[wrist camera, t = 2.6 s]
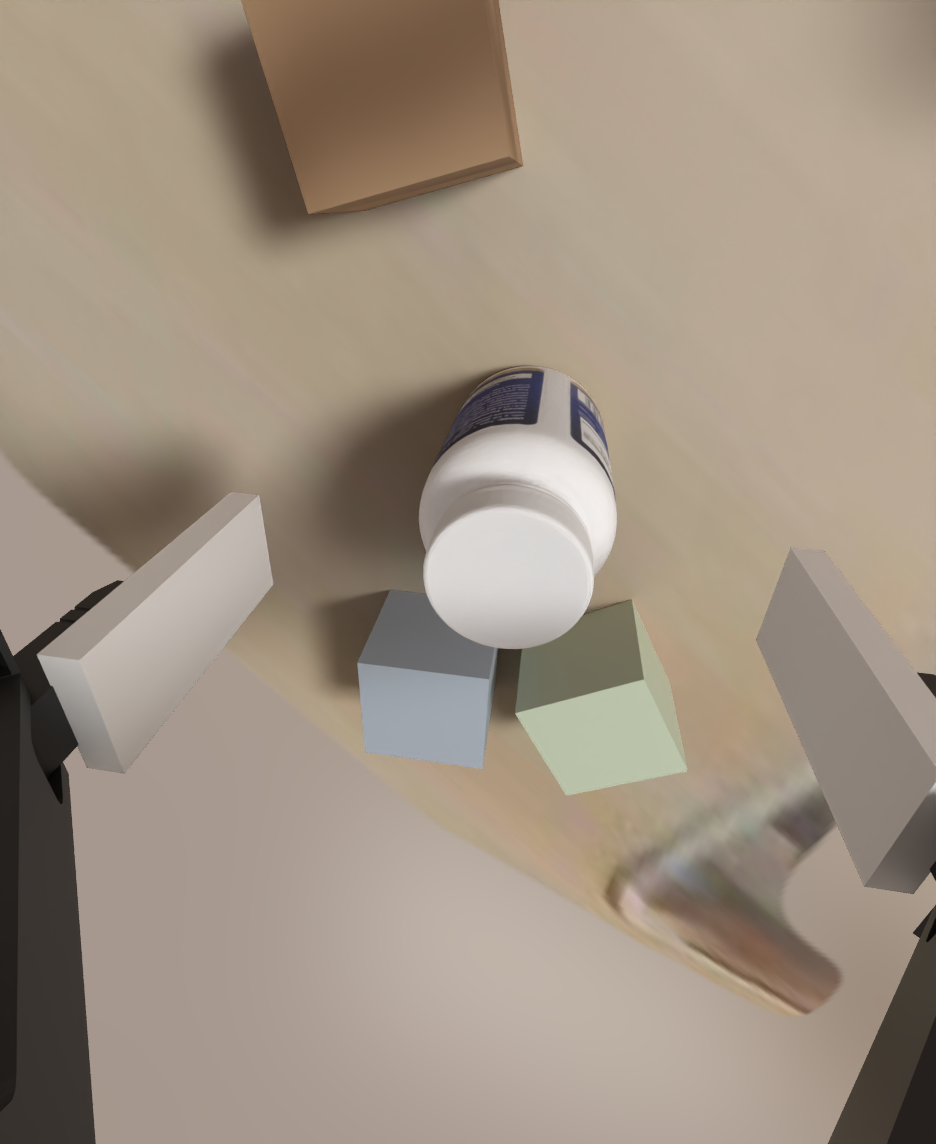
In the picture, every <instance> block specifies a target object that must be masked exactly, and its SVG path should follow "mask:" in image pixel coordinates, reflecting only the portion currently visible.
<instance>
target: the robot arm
mask: <svg viewBox="0 0 936 1144" xmlns="http://www.w3.org/2000/svg"><path fill="white" fill-rule="evenodd" d="M272 586H273V579H272V573H271V566H270V560H269V554H268V548H267V542H266V535H265V529H264V523H263V517H262V510H261V504H260V498H259V495H256V494H246V493H236V492H230V493H229V494H228V495H227V496H225V497H224V498H223V499H222V500H221V501H220V502H218V503H217V504H216V505H215V506H214V507H212V508H211V509H210V510H209V511H208V512H206V513H205V514H204V515H203V516H202V517H200V518H199V519H198V520H197V521H196V522H194V523H193V524H192V525H191V526H190V527H188V528H187V529H186V530H185V531H184V532H182V533H181V534H180V535H179V536H178V537H176V538H175V539H174V540H173V541H172V542H171V543H169V544H168V545H167V546H166V547H165V548H163V549H162V550H161V551H160V552H159V553H157V554H156V555H155V556H154V557H153V558H151V559H150V560H149V561H148V562H147V563H145V564H144V565H143V566H142V567H141V568H139V569H138V570H137V571H136V572H135V573H133V574H132V575H131V576H130V577H129V578H128V579H127V580H125V581H116V582H113V583H111V584H109V585H107V586H105V587H103V588H101V589H99V590H97V591H95V592H93V593H91V594H90V595H89V596H88V597H86V598H85V599H84V600H83V601H81V602H80V603H79V604H78V605H76V606H75V609H74V610H70V611H69V612H68V613H67V614H65V615H64V616H63V617H62V618H60V622H55V623H54V624H53V625H52V626H50V627H49V628H48V629H47V630H45V631H44V632H43V633H42V634H40V635H39V636H38V637H37V638H36V639H34V640H33V641H32V642H30V643H29V644H28V645H27V646H25V647H24V648H23V649H22V650H21V651H19V652H18V653H17V654H16V655H14V656H13V655H12V653H11V651H10V649H9V647H8V645H7V643H6V641H5V638H4V636H3V634H2V632H1V630H0V1144H96V1143H95V1130H94V1116H93V1103H92V1089H91V1075H90V1062H89V1048H88V1035H87V1020H86V1008H85V1007H86V1006H85V993H84V979H83V967H82V966H83V965H82V952H81V938H80V924H79V911H78V897H77V884H76V870H75V856H74V844H73V843H74V842H73V829H72V816H71V801H70V787H69V774H68V772H67V770H66V768H65V765H64V763H63V761H64V760H65V759H66V758H67V757H68V755H69V754H70V753H71V752H72V751H73V750H74V749H75V748H76V747H77V746H78V749H79V751H80V753H81V755H82V758H83V760H84V762H85V764H86V767H87V768H92V769H98V770H105V771H111V772H118V773H126V771H127V770H128V769H129V767H130V766H131V765H132V764H133V762H134V761H135V760H136V759H137V757H138V756H139V755H140V753H141V752H142V751H143V750H144V748H145V747H146V746H147V745H148V743H149V742H150V741H151V740H152V738H153V737H154V736H155V734H156V733H157V732H158V731H159V729H160V728H161V727H162V726H163V724H164V723H165V722H166V720H167V719H168V718H169V716H170V715H171V714H172V712H174V710H175V709H176V708H177V706H178V705H179V704H180V703H181V701H182V700H183V699H184V698H185V696H186V695H187V694H188V692H189V691H190V690H191V689H192V687H193V686H194V685H195V684H196V682H197V681H198V680H199V678H200V677H201V676H202V675H203V673H204V672H205V671H206V670H207V668H208V667H209V666H210V664H211V663H212V662H213V661H214V659H215V658H216V657H217V656H218V654H219V653H220V652H221V650H222V649H223V648H224V647H225V645H226V644H227V643H228V642H229V640H230V639H231V638H232V636H233V635H234V634H235V633H236V631H237V630H238V629H239V628H240V626H241V625H242V624H243V622H244V621H245V620H246V619H247V617H248V616H249V615H250V614H251V612H252V611H253V610H254V609H255V607H256V606H257V605H258V603H259V602H260V601H261V600H262V598H263V597H264V596H265V595H266V593H267V592H268V591H269V589H270V588H271V587H272ZM756 641H757V643H758V645H759V648H760V650H761V652H762V655H763V657H764V659H765V661H766V664H767V666H768V668H769V671H770V673H771V675H772V677H773V680H774V682H775V684H776V686H777V689H778V691H779V693H780V696H781V698H782V700H783V702H784V705H785V707H786V709H787V712H788V714H789V716H790V718H791V721H792V723H793V725H794V728H795V730H796V732H797V734H798V737H799V739H800V741H801V744H802V746H803V748H804V750H805V753H806V755H807V757H808V760H809V762H810V764H811V766H812V769H813V771H814V773H815V776H816V778H817V780H818V782H819V785H820V787H821V789H822V792H823V794H824V796H825V798H826V801H827V803H828V805H829V808H830V810H831V812H832V814H833V817H834V819H835V821H836V824H837V826H838V828H839V830H840V833H841V835H842V837H843V840H844V842H845V844H846V846H847V849H848V851H849V853H850V856H851V858H852V860H853V862H854V865H855V867H856V869H857V872H858V874H859V876H860V878H861V881H862V883H863V885H864V887H871V888H877V889H885V890H891V891H897V892H903V893H910V894H914V893H915V891H916V890H917V889H918V887H919V886H920V885H921V884H922V882H923V881H924V880H925V878H926V877H927V876H928V875H929V873H930V872H931V873H932V875H933V877H934V879H935V880H936V676H935V675H933V674H925V673H916V671H915V670H914V669H913V667H912V666H911V665H910V663H909V662H908V661H907V659H906V658H905V657H904V655H903V654H902V653H901V651H900V650H899V649H898V647H897V646H896V645H895V643H894V642H893V641H892V639H891V638H890V637H889V635H888V634H887V633H886V631H885V630H884V629H883V627H882V626H881V625H880V623H879V622H878V621H877V619H876V618H875V617H874V615H873V614H872V613H871V611H870V610H869V609H868V608H867V606H866V605H865V604H864V602H863V601H862V600H861V598H860V597H859V596H858V594H857V593H856V592H855V590H854V589H853V588H852V586H851V585H850V584H849V582H848V581H847V580H846V578H845V577H844V576H843V574H842V573H841V572H840V570H839V569H838V568H837V566H836V565H835V564H834V562H833V561H832V560H831V558H830V557H829V556H828V554H827V553H826V552H825V551H821V550H811V549H801V548H790V551H789V553H788V556H787V559H786V561H785V564H784V567H783V569H782V572H781V575H780V577H779V580H778V583H777V585H776V588H775V591H774V593H773V596H772V599H771V601H770V604H769V607H768V610H767V612H766V615H765V618H764V620H763V623H762V626H761V628H760V631H759V634H758V636H757V639H756ZM913 934H915V935H916V936H918V937H919V938H920V939H919V942H918V944H917V946H916V948H915V950H914V953H913V955H912V957H911V959H910V962H909V964H908V966H907V968H906V971H905V973H904V975H903V977H902V980H901V982H900V984H899V986H898V988H897V991H896V993H895V995H894V997H893V1000H892V1002H891V1004H890V1006H889V1008H888V1011H887V1013H886V1015H885V1017H884V1020H883V1022H882V1024H881V1026H880V1029H879V1031H878V1033H877V1035H876V1038H875V1040H874V1042H873V1044H872V1047H871V1049H870V1051H869V1054H868V1055H867V1058H866V1060H865V1062H864V1064H863V1067H862V1069H861V1071H860V1073H859V1076H858V1078H857V1080H856V1082H855V1084H854V1087H853V1089H852V1091H851V1093H850V1096H849V1098H848V1100H847V1102H846V1104H845V1107H844V1109H843V1111H842V1113H841V1116H840V1118H839V1120H838V1122H837V1125H836V1127H835V1129H834V1131H833V1133H832V1136H831V1138H830V1140H829V1143H828V1144H936V905H935V907H934V908H933V909H932V910H931V911H930V913H929V914H928V915H927V916H926V917H925V919H924V920H923V921H922V922H921V924H920V925H919V926H918V927H917V928H916V930H915V931H914V932H913Z"/></svg>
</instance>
